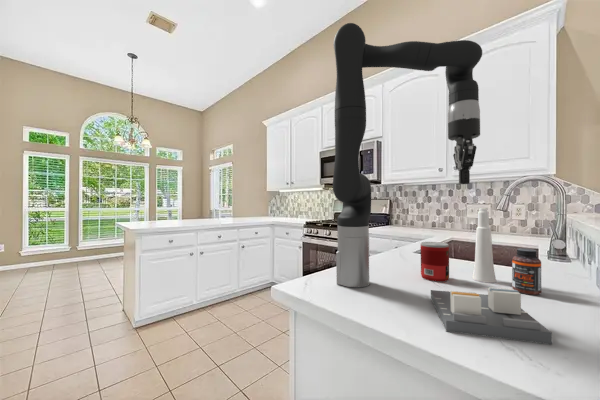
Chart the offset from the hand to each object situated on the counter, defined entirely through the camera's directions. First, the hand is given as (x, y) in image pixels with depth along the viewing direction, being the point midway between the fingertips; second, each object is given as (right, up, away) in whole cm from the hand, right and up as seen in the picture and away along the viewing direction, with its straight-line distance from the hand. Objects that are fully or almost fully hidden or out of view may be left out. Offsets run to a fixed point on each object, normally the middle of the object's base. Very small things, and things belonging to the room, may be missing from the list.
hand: (464, 184), depth 73 cm
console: (-7, -29, -17) cm, 34 cm away
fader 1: (-13, -27, -21) cm, 36 cm away
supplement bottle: (+15, -29, -2) cm, 33 cm away
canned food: (-2, -29, +11) cm, 31 cm away
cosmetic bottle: (+12, -29, +9) cm, 33 cm away
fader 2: (-4, -27, -19) cm, 33 cm away
